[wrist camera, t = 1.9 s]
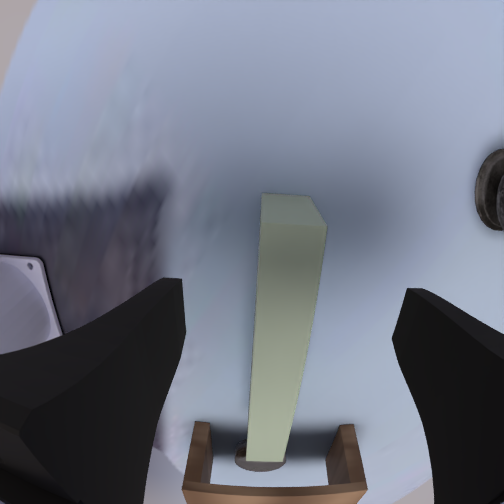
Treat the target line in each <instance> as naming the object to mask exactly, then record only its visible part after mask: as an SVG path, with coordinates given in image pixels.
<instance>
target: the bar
mask: <svg viewBox="0 0 504 504" xmlns="http://www.w3.org/2000/svg"><path fill="white" fill-rule="evenodd" d="M326 233H327V225H326V223H325V221H324V220H323V218H322V216H321V215H320V213H319V211H318V210H317V208H316V206H315V205H314V203H313V201H312V200H311V198H310V196H301V195H286V194H270V193H262V197H261V215H260V232H259V250H258V267H257V284H256V301H255V317H254V334H253V350H252V366H251V381H250V397H249V413H248V432H247V451H246V461H262V462H283V458H284V454H285V450H286V446H287V442H288V438H289V434H290V430H291V426H292V421H293V417H294V413H295V408H296V404H297V399H298V395H299V390H300V386H301V381H302V376H303V371H304V366H305V361H306V356H307V351H308V346H309V341H310V335H311V330H312V324H313V318H314V313H315V307H316V301H317V295H318V289H319V282H320V276H321V269H322V262H323V255H324V248H325V241H326Z"/></svg>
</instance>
